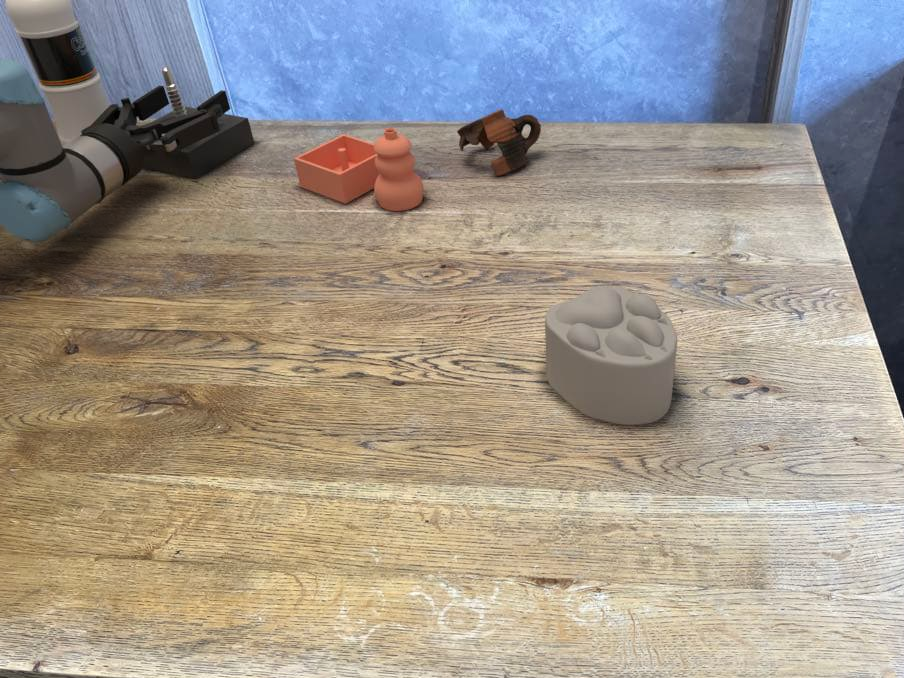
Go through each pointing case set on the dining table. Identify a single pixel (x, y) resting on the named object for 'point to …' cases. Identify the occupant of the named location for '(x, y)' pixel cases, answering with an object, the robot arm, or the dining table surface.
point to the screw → (173, 93)
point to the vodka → (60, 63)
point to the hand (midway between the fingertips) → (194, 97)
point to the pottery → (363, 170)
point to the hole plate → (204, 148)
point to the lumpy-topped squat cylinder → (612, 355)
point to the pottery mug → (502, 138)
